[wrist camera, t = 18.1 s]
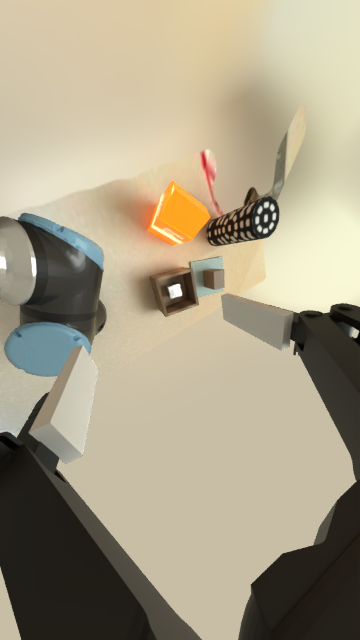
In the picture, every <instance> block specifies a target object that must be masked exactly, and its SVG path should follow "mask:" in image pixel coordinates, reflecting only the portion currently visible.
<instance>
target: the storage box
mask: <svg viewBox="0 0 360 640" xmlns="http://www.w3.org/2000/svg"><path fill="white" fill-rule="evenodd" d="M150 280H151V283H152V286H153V290H154V293H155V296H156V300H157V303H158V306H159V310H160V311H161V312H162V313H163V314H164V316H165V317H167V316H169V315H172V314H175V313H178V312H181V311H183V310H186V309H189V308H192V307H195V306H197V305H199V302H198V297H197V291H196V285H195V279H194V273H193V268H184V267H182V268H179V269H175V270H172V271H168V272H165V273H161V274H157V275H154V276H150ZM175 282H176V283H179V284H180V288H181V292H182V296H179V297H176V298H173V299H171V298H169V297H168V296H167V292H166V288H165V285H168V284H171V283H175Z"/></svg>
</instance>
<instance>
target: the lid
mask: <svg viewBox="0 0 360 640" xmlns="http://www.w3.org/2000/svg"><path fill="white" fill-rule="evenodd" d="M190 268H193V273H194V279H195V285H196V291H197V297H202V296H206V295H210V294H214V293H218V292H222V291H223V288H224V269H223V259H222V257H217V258H211V259H206V260H200V261H195V262H190Z"/></svg>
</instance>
